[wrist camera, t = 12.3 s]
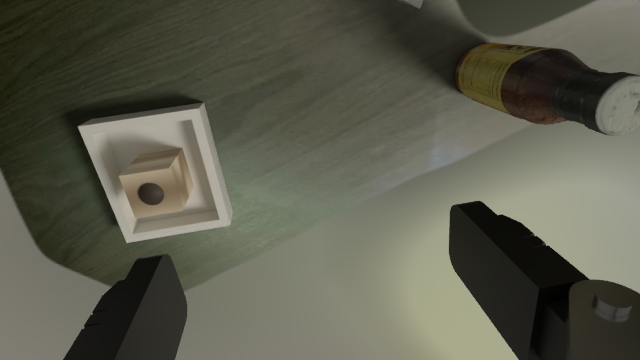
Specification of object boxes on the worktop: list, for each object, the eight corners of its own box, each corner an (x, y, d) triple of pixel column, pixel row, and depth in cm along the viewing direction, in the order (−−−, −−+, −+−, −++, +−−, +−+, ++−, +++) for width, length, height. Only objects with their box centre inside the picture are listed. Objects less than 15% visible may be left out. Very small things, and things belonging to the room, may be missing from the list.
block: (139, 154, 40) (117, 176, 35) (182, 148, 41) (168, 168, 35) (152, 192, 42) (134, 219, 37) (193, 186, 43) (182, 211, 37)
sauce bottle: (514, 59, 42) (698, 91, 24) (480, 107, 43) (627, 170, 25) (472, 29, 40) (638, 38, 22) (438, 80, 42) (565, 128, 23)
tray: (91, 118, 39) (77, 126, 36) (203, 102, 39) (198, 108, 37) (135, 229, 45) (126, 242, 42) (232, 212, 45) (230, 225, 42)
